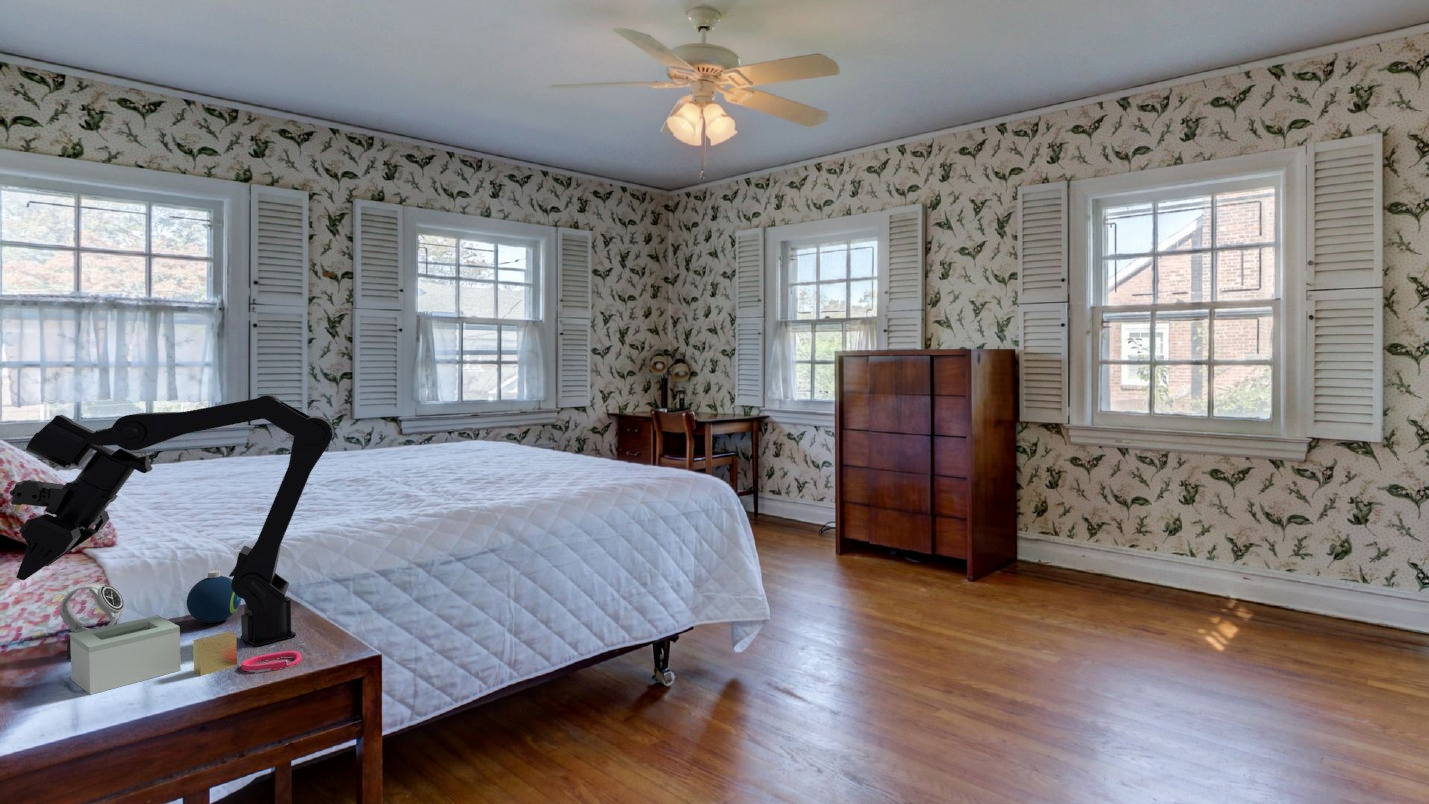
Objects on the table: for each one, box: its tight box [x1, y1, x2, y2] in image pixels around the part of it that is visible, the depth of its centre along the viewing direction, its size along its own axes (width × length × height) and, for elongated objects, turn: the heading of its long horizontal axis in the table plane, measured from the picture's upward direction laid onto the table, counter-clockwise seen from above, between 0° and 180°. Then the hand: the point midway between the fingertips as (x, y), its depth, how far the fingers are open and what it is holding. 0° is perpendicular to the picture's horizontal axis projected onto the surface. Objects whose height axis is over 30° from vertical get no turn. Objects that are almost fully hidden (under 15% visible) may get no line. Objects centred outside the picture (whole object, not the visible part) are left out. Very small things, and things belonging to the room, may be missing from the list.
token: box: [192, 630, 238, 677], centre depth 117 cm, size 5×2×5 cm, turn 143°
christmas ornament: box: [186, 567, 242, 624], centre depth 139 cm, size 8×8×10 cm
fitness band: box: [241, 650, 302, 674], centre depth 118 cm, size 8×6×2 cm
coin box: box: [69, 615, 182, 695], centre depth 114 cm, size 11×9×7 cm
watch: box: [59, 582, 125, 660], centre depth 123 cm, size 6×8×11 cm
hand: (32, 571), depth 117 cm, fingers open, 9 cm apart
